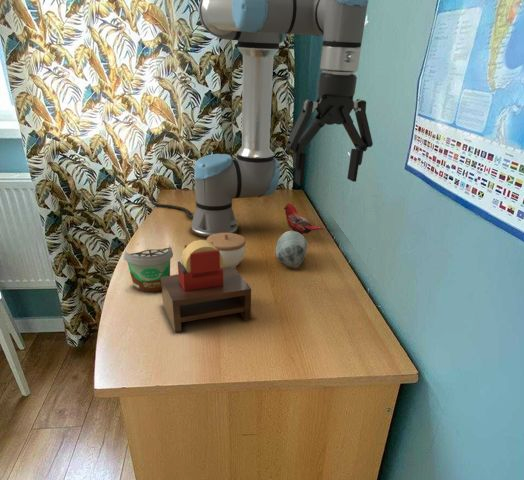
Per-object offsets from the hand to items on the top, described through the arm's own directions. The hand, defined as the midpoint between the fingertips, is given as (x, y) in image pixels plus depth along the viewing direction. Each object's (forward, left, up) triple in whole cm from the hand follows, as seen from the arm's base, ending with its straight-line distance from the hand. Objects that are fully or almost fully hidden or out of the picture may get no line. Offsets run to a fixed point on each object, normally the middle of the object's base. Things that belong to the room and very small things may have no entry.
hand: (325, 182), depth 103 cm
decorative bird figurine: (-34, +13, -28) cm, 47 cm away
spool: (-19, +2, -28) cm, 34 cm away
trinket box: (-22, -17, -28) cm, 40 cm away
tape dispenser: (+2, -31, -20) cm, 36 cm away
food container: (-14, -39, -28) cm, 50 cm away
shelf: (+2, -30, -28) cm, 41 cm away
